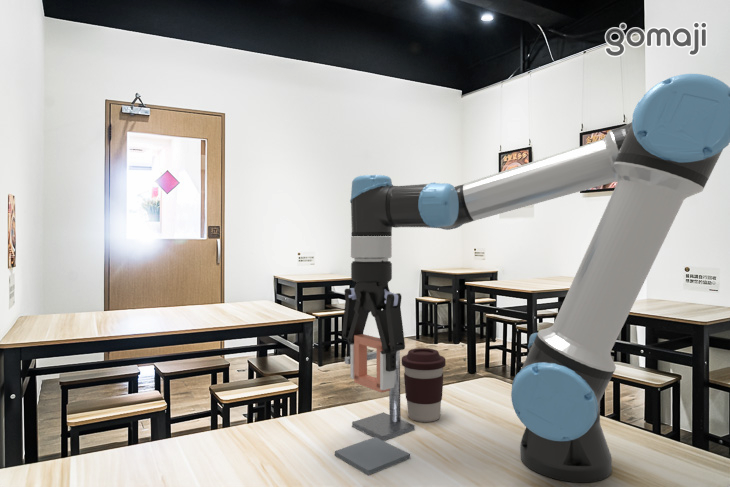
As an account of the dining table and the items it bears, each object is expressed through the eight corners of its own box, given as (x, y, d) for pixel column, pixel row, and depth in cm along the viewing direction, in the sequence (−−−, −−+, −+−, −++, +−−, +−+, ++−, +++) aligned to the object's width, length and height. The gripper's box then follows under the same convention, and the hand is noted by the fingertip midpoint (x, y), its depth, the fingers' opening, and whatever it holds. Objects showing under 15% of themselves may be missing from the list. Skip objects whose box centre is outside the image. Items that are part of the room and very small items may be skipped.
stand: (415, 429, 101) (414, 340, 101) (362, 448, 93) (361, 350, 93) (384, 416, 109) (383, 333, 109) (333, 432, 100) (332, 342, 100)
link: (390, 390, 86) (390, 340, 86) (381, 392, 85) (381, 342, 85) (362, 380, 92) (362, 333, 92) (354, 382, 91) (354, 335, 91)
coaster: (410, 458, 88) (410, 453, 88) (368, 475, 82) (368, 470, 82) (375, 441, 96) (375, 437, 96) (334, 455, 90) (334, 451, 90)
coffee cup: (444, 409, 113) (443, 346, 113) (447, 425, 103) (446, 356, 103) (402, 408, 114) (402, 346, 114) (401, 424, 104) (401, 356, 104)
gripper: (426, 261, 83) (426, 392, 83) (353, 257, 99) (353, 367, 99) (394, 262, 78) (394, 401, 78) (323, 258, 94) (323, 374, 94)
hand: (371, 382), depth 89 cm, fingers closed on link, 8 cm apart
